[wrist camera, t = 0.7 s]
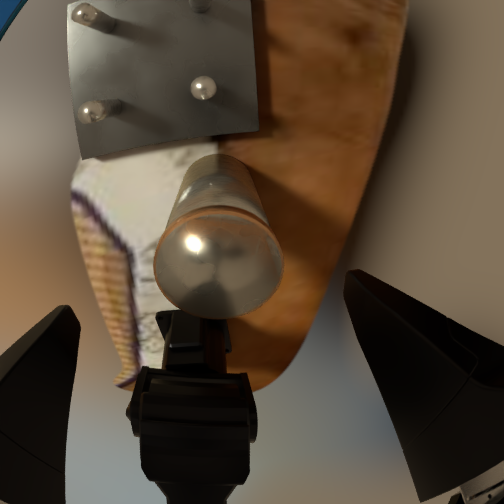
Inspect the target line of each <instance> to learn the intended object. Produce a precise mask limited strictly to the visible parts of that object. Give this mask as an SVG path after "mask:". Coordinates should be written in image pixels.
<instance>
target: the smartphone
mask: <svg viewBox="0 0 504 504" xmlns="http://www.w3.org/2000/svg"><path fill="white" fill-rule="evenodd" d="M27 1H28V0H0V41H1V40H2V38H3V36H4V35H5V33H6V31H7V30H8V28H9V26H10V25H11V23H12V22H13V21H14V19H15V18H16V16H17V15H18V13H19V12H20V10H21V9H22V8H23V6H24V5H25V3H26V2H27Z"/></svg>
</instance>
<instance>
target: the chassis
mask: <svg viewBox="0 0 504 504" xmlns="http://www.w3.org/2000/svg"><path fill="white" fill-rule="evenodd" d="M67 37H68V40H67V41H68V62H69V63H68V64H69V77H70V87H71V96H72V104H73V111H74V118H75V124H76V130H77V136H78V142H79V147H80V152H81V157H82V160H85V159H89V158H92V157H96V156H100V155H104V154H109V153H113V152H117V151H122V150H126V149H131V148H136V147H141V146H146V145H151V144H157V143H163V142H168V141H175V140H181V139H188V138H195V137H203V136H211V135H220V134H230V133H241V132H254V131H259V119H258V102H257V86H256V71H255V56H254V42H253V28H252V14H251V1H250V0H79V1H77V2H74V3H72V4H70V5H68V16H67Z"/></svg>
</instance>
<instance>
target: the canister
mask: <svg viewBox="0 0 504 504" xmlns="http://www.w3.org/2000/svg"><path fill="white" fill-rule="evenodd" d="M153 268H154V275H155V280H156V282H157V285H158V287H159V288H160V290H161V292H162V293H163V295H164V296H165V297H166V298H167V299H168V300H169V301H170V302H171V303H172V304H173V305H175V306H176V307H177V308H179V309H181V310H182V311H184V312H186V313H189V314H191V315H194V316H197V317H201V318H207V319H229V318H235V317H239V316H242V315H245V314H248V313H250V312H252V311H254V310H256V309H257V308H259V307H261V306H262V305H263V304H264V303H266V302H267V301H268V300H269V299H270V298H271V297H272V296H273V294H274V293H275V292H276V290H277V288H278V287H279V285H280V282H281V280H282V276H283V272H284V258H283V254H282V250H281V247H280V245H279V242H278V240H277V237H276V236H275V234H274V232H273V231H272V229H271V228H270V225H269V222H268V220H267V217H266V214H265V212H264V209H263V206H262V204H261V201H260V198H259V196H258V193H257V190H256V188H255V185H254V183H253V180H252V177H251V175H250V173H249V171H248V169H247V168H246V167H245V165H244V164H243V163H241V162H240V161H239V160H237V159H236V158H234V157H231V156H228V155H224V154H212V155H208V156H204V157H202V158H200V159H199V160H197V161H196V162H194V163H193V164H192V165H191V166H190V167H189V169H188V170H187V172H186V174H185V176H184V178H183V181H182V184H181V186H180V189H179V192H178V194H177V197H176V200H175V203H174V206H173V208H172V211H171V214H170V217H169V220H168V223H167V226H166V229H165V231H164V233H163V234H162V236H161V238H160V240H159V243H158V246H157V249H156V252H155V256H154V263H153Z"/></svg>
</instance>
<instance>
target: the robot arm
mask: <svg viewBox="0 0 504 504" xmlns="http://www.w3.org/2000/svg"><path fill="white" fill-rule="evenodd" d="M343 294H344V300H345V303H346V306H347V309H348V312H349V315H350V318H351V321H352V324H353V327H354V330H355V333H356V336H357V339H358V342H359V344H360V346H361V348H362V351H363V353H364V355H365V358H366V360H367V362H368V364H369V367H370V369H371V371H372V374H373V376H374V378H375V381H376V383H377V385H378V388H379V390H380V392H381V395H382V398H383V400H384V402H385V405H386V407H387V410H388V413H389V415H390V418H391V420H392V423H393V425H394V428H395V431H396V433H397V436H398V439H399V441H400V444H401V447H402V449H403V453H404V456H405V459H406V461H407V464H408V467H409V470H410V473H411V476H412V479H413V482H414V485H415V488H416V492H417V495H418V498H419V500H420V502H424V501H427V500H429V499H432V498H434V497H436V496H439V495H441V494H443V493H445V492H448V491H450V490H452V489H454V488H456V487H458V486H459V489H460V491H459V492H458V493H456V494H455V495H453V496H452V497H451V498H450V501H449V503H448V504H504V346H502V345H500V344H498V343H496V342H494V341H492V340H490V339H488V338H486V337H484V336H482V335H480V334H478V333H476V332H474V331H472V330H470V329H468V328H466V327H464V326H463V325H461V324H459V323H457V322H455V321H454V320H452V319H450V318H447V317H446V316H445V315H443V314H441V313H440V312H438V311H436V310H434V309H432V308H431V307H429V306H427V305H425V304H423V303H422V302H420V301H418V300H416V299H414V298H413V297H411V296H409V295H407V294H405V293H403V292H402V291H400V290H398V289H396V288H394V287H392V286H391V285H389V284H387V283H385V282H383V281H381V280H379V279H377V278H376V277H374V276H372V275H370V274H368V273H366V272H364V271H362V270H360V269H356V270H350V271H348V272H347V273H346V276H345V284H344V292H343ZM155 318H156V321H157V324H158V326H159V329H160V331H161V334H162V336H163V338H164V341H165V344H164V352H163V361H162V369H156V368H149V367H148V366H142V369H141V372H140V373H139V374H138V377H137V381H136V384H135V388H134V391H133V395H132V398H131V401H130V403H129V405H128V407H127V409H126V416H127V417H128V419H129V420H130V421H131V425H132V431H133V434H134V436H136V437H140V458H141V468H142V470H143V472H144V474H145V475H146V477H147V479H148V480H149V481H153V482H155V483H156V484H157V486H158V487H159V488H160V490H161V491H162V492H163V494H164V495H165V496H166V499H167V504H227V501H226V500H227V498H228V497H229V495H230V494H231V493H232V491H233V490H234V489H235V487H236V486H237V485H243V484H244V483H245V481H246V479H247V477H248V475H249V473H250V466H249V465H250V443H254V442H255V440H256V437H257V427H258V422H257V421H258V420H257V410H256V405H255V401H254V397H253V394H252V390H251V386H250V383H249V379H248V375H247V373H240V374H234V373H227V368H226V354H227V353H230V352H231V351H232V349H231V343H230V337H229V332H228V326H227V320H226V319H207V318H201V317H197V316H194V315H191V314H189V313H186V312H184V311H182V310H174V311H161V312H157V313H156V317H155ZM80 331H81V326H80V322H79V321H78V319H77V317H76V315H75V313H74V312H73V310H72V308H71V307H70V306H69V305H60V306H58V307H56V308H55V309H54V310H53V311H52V312H50V313H49V314H48V315H47V316H45V317H44V318H43V319H42V320H41V321H40V322H38V323H37V324H36V325H35V326H34V327H32V328H31V329H30V330H29V331H28V332H26V334H24V335H23V336H22V337H21V338H20V339H18V340H17V341H16V342H15V343H14V344H13V345H12V346H11V347H10V348H8V349H7V350H6V351H5V352H4V353H3V354H2V355H1V356H0V504H66V500H65V458H66V440H67V429H68V419H69V411H70V402H71V396H72V390H73V384H74V378H75V372H76V365H77V356H78V347H79V339H80Z"/></svg>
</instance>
